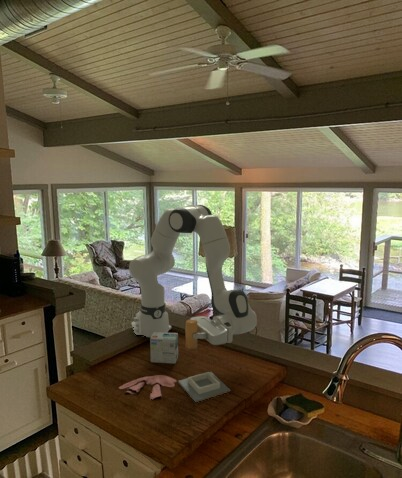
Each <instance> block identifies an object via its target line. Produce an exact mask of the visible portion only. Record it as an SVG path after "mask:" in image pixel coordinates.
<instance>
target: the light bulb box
mask: <svg viewBox="0 0 402 478" xmlns="http://www.w3.org/2000/svg"><path fill="white" fill-rule="evenodd" d="M149 341H150V342H149V344H150V345H149V347H150V349H149V350H150V352H149V353H150V363H157V364H158V363H160V364H173V365H174V364H176V363H177V361H178V358H179V334H178V332H168V333H162V332H154V333H153V334H152V336H151V337H149Z"/></svg>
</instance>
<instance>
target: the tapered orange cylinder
mask: <svg viewBox="0 0 402 478" xmlns="http://www.w3.org/2000/svg"><path fill="white" fill-rule="evenodd" d="M185 328H186V331H185V348H186V349H188V350H195V349H197V348H198V339H194V338H192V334H193V333H197V321H196V320H190V319H187V320H186V321H185Z"/></svg>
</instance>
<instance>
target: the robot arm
mask: <svg viewBox="0 0 402 478" xmlns="http://www.w3.org/2000/svg"><path fill="white" fill-rule="evenodd" d="M193 232H194V233H196V234H197V235H198V237H199V240H200V242H201V246H202V249H203V254H204V258H205V268H206V273H207V278H208V284H209V287H210V291H211V300H210V303H211V307H212V309H213V311H214V312H215V313H216V314H218V315H215V316H213V317H212V319H211V318H210V317H209V316H206V315H204V316H203V315H202V316H201V315H200V316H192V317H190V318H189V320H196V321H197V333H193V334H192V338H194V339H197V340H198V339H200V340H206V341H207V342H208V343H209V344H211V345H212V346H219V345H224V344H226V343H228V344H231V343H232V342H233V335H241V334H246V333H247V332H250V331H253V330H254V329H255V328H256V326H257V325H258V316H257V314H256V312H255V311H254V310H253V309H252V308H251V306H250V304H249V300H248V299H249V298H248V295H247V294H246V293H245V292H244V291H243V290H241V289H239V288H237V289H229V290H228V289H227V288H226V286H225V285H226V284H225V281H224V276H223V272H222V271H223V265H224V263H225V262H226V261H227V260H228V259H229V257H230V254H231V244H230V241H229V238H228V235H227V232H226V229H225V227H224V224H223V223H222V221H221V220H220V218H219V217H218V216H217V215H215V214H213V213H212V211H211V209H210V208H209V207H207V206H206V205H203V204H197V205H196V204H191V205H187V206H182V207H176V208H167V209H166V210H165V211H164V212H163V213H162V215H161V216H160V218H159V219H158V221H157V224H156V225H155V228H154V231H153V233H152V235H151V238H150V244H151V247H152V248H153V249H152V251H151V252H149V253H147V254H143V255H139V256H136V258H134V259H132V260H131V261H130V262H129V265H128V270H129V273H130V276H131V277H132V278H133V279H134V280H136V281H137V283H138V285H139V287H140V295H141V297H140V298H141V302H140V306H139V311H138V312H137V313H136V314H135V317H133V321H131V327H132V331H133V330H134V331H133V334H134V333H135V334H136V335H144V336H146V338H151V336H152V334H153V333H154V332H162V333H169V331H170V330H171V329H172V325H170V322H169V321H170V320H169V313H168V312H167V311H166V309H167V305H166V302H165V296H166V295H165V288H164V285H162V284H161V283H159V280H158V276H160V275H163V274H166V273H167V272H170V271H171V270H172V269H173V268H174V267H175V264H176V261H175V257H174V255H173V251H174V248H175V245H176V243H177V241H178V239H179V237H180V234H192V233H193ZM133 327H134V328H133ZM184 331H185V332H186V327H185V329H184ZM135 334H134V335H135ZM136 335H135V336H136ZM144 336H143V337H144Z"/></svg>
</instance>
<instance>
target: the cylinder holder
mask: <svg viewBox="0 0 402 478" xmlns="http://www.w3.org/2000/svg"><path fill="white" fill-rule="evenodd" d="M177 382H178V385H179V386H180V387H181V388H182V389H183V390H184V392H185V391H186V392H187V393H188V394H189V395H190V396H189V395H188V394H187V393H186V392H185V393H186V394H187V395H188V396H189V398H190V399H191V398H192V399H193V400H194V401H195V402H198V401H201V400H203V399H207V398H209V397H212V396H215V395H218V394H221V393H224V392H227V391H231V389H230V388H229V387H228V386H227V385H226V384H225V383H224V382H223V381H221V380H220V378H218V377H217V375H216V374H214V372H212V371H207V372H203V373H199V374H195V375H193V376H192V375H191V376H188V377H186V378H183V379H179V380H178V381H177ZM193 400H192V401H193ZM194 401H193V402H194ZM195 402H194V403H195ZM201 402H202V401H201ZM198 403H199V402H198Z"/></svg>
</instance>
